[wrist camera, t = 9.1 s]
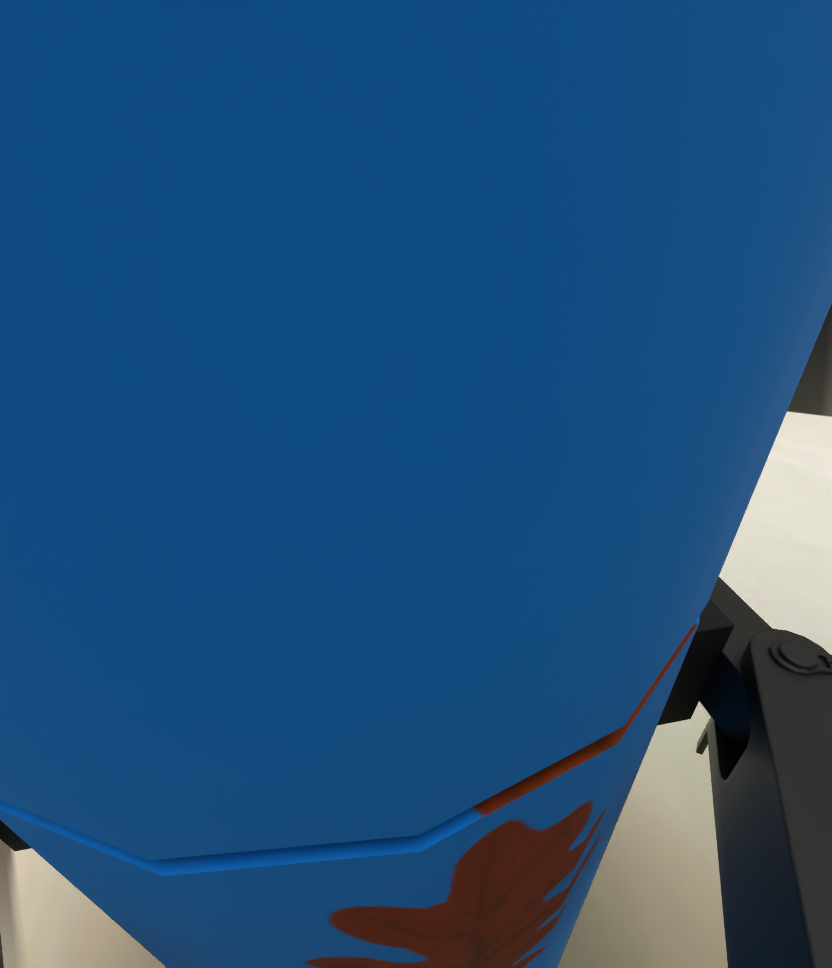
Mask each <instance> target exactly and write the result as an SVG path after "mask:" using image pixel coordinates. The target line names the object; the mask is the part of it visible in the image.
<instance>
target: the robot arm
mask: <svg viewBox="0 0 832 968" xmlns="http://www.w3.org/2000/svg"><path fill="white" fill-rule="evenodd" d="M699 701H700V702H701V704H702V705H703V706H704V708H705V709H706V710H707V712H708V713H709V714H710V716H711V717H710V719H709V721H708V723H707V725H706V727H705V729H704V731H703V733H702V735H701V737H700V739H699V741H698V744H697V749H696V753H699V754H703V752H704V750H705V748H706V747H707V745H708V748H709V759H710V771H711V782H712V793H713V804H714V815H715V827H716V838H717V849H718V860H719V871H720V882H721V894H722V905H723V916H724V927H725V938H726V949H727V961H728V968H832V655H830V654H829V653H828V652H827V651H825V650H824V649H823V648H822V647H821V646H819V645H818V644H816V643H814V642H812V641H811V640H809V639H807V638H806V637H803V636H801V635H798V634H795V633H792V632H789V631H786V630H778V629H772V628H771V627H770V626H769V625H768V624H767V623H766V622H765V621H764V620H763V619H762V618H761V617H760V616H759V615H758V614H757V613H756V612H754V611H753V610H752V609H751V608H750V607H749V606H748V605H747V604H746V603H745V602H744V601H743V600H742V599H741V598H740V597H739V596H738V595H737V594H736V593H735V592H734V591H733V590H732V589H731V588H730V587H729V586H728V585H727V584H726V583H725V582H724V581H723V580H722V579H721V578H720V577H718V579H717V581H716V584H715V586H714V588H713V591H712V593H711V596H710V598H709V600H708V603H707V605H706V606H705V608H704V609H703V611H702V612H701V614H700V622H699V625H698V627H697V630H696V632H695V634H694V637H693V639H692V642H691V644H690V646H689V649H688V651H687V654H686V656H685V659H684V661H683V663H682V666H681V668H680V671H679V673H678V675H677V678H676V680H675V683H674V685H673V688H672V690H671V692H670V695H669V697H668V700H667V702H666V705H665V707H664V709H663V712H662V714H661V717H660V719H659V721H658V724H657V725H661V724H667V723H672V722H677V721H682V720H687V719H691V717H692V715H693V712H694V710H695V708H696V706H697V704H698V702H699ZM0 839H1V840H2V841H3V842H4V843H6V844H7V845H8V846H9V847H10V848H12V849H13V850H14V851H19V850H24V849H29V848H31V847H30V846H29V845H28V844H27V843H26V842H24V841H23V840H22V839H21V838H20V837H19V836H18V835H17V834H15V833H14V832H13V831H12V830H11V829H10V828H9V827H8V826H6V825H5V824H4V823H3V822H2V821H1V820H0ZM0 968H4V966H3V955H2V945H1V935H0Z"/></svg>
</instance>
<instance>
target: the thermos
mask: <svg viewBox="0 0 832 968" xmlns="http://www.w3.org/2000/svg"><path fill="white" fill-rule="evenodd" d="M831 303H832V0H0V820H1V821H2V822H3V823H4V824H5V825H6V826H8V827H9V828H10V829H11V830H12V831H13V832H14V833H15V834H17V835H18V836H19V837H20V838H21V839H22V840H23V841H24V842H26V843H27V844H28V845H29V846H30V847H31V848H32V849H34V850H35V851H36V852H37V853H38V854H39V855H40V856H41V857H43V858H44V859H45V860H46V861H47V862H48V863H49V864H51V865H52V866H53V867H54V868H55V869H56V870H57V871H58V872H60V873H61V874H62V875H63V876H64V877H65V878H66V879H67V880H69V881H70V882H71V883H72V884H73V885H74V886H75V887H77V888H78V889H79V890H80V891H81V892H82V893H83V894H84V895H86V896H87V897H88V898H89V899H90V900H91V901H92V902H94V903H95V904H96V905H97V906H98V907H99V908H100V909H101V910H103V911H104V912H105V913H106V914H107V915H108V916H109V917H110V918H112V919H113V920H114V921H115V922H116V923H117V924H118V925H120V926H121V927H122V928H123V929H124V930H125V931H126V932H127V933H129V934H130V935H131V936H132V937H133V938H134V939H135V940H137V941H138V942H139V943H140V944H141V945H142V946H143V947H144V948H146V949H147V950H148V951H149V952H150V953H151V954H152V955H154V956H155V957H156V958H157V959H158V960H159V961H160V962H161V963H163V964H164V965H165V966H166V967H167V968H557V966H558V963H559V961H560V958H561V956H562V954H563V951H564V949H565V946H566V944H567V942H568V939H569V937H570V934H571V932H572V929H573V927H574V925H575V922H576V920H577V917H578V915H579V913H580V910H581V908H582V905H583V903H584V900H585V898H586V896H587V893H588V891H589V888H590V886H591V883H592V881H593V879H594V876H595V874H596V871H597V869H598V867H599V864H600V862H601V859H602V857H603V854H604V852H605V850H606V847H607V845H608V842H609V840H610V838H611V835H612V833H613V830H614V828H615V825H616V823H617V821H618V818H619V816H620V813H621V811H622V809H623V806H624V804H625V801H626V799H627V796H628V794H629V792H630V789H631V787H632V784H633V782H634V779H635V777H636V775H637V772H638V770H639V767H640V765H641V763H642V760H643V758H644V755H645V753H646V750H647V748H648V746H649V743H650V741H651V738H652V736H653V734H654V731H655V729H656V726H657V724H658V721H659V719H660V717H661V714H662V712H663V709H664V707H665V705H666V702H667V700H668V697H669V695H670V692H671V690H672V688H673V685H674V683H675V680H676V678H677V675H678V673H679V671H680V668H681V666H682V663H683V661H684V659H685V656H686V654H687V651H688V649H689V646H690V644H691V642H692V639H693V637H694V634H695V632H696V630H697V627H698V625H699V622H700V614H701V612H702V611H703V609H704V608H705V606H706V605H707V603H708V600H709V598H710V596H711V593H712V591H713V588H714V586H715V584H716V581H717V579H718V576H719V574H720V571H721V569H722V567H723V564H724V562H725V559H726V557H727V555H728V552H729V550H730V547H731V545H732V542H733V540H734V538H735V535H736V533H737V530H738V528H739V526H740V523H741V521H742V518H743V516H744V513H745V511H746V509H747V506H748V504H749V501H750V499H751V496H752V494H753V492H754V489H755V487H756V484H757V482H758V480H759V477H760V475H761V472H762V470H763V467H764V465H765V463H766V460H767V458H768V455H769V453H770V451H771V448H772V446H773V443H774V441H775V438H776V436H777V434H778V431H779V429H780V426H781V424H782V422H783V419H784V417H785V414H786V412H787V409H788V407H789V405H790V402H791V400H792V397H793V395H794V392H795V390H796V387H797V385H798V383H799V380H800V378H801V376H802V373H803V371H804V368H805V365H806V363H807V361H808V359H809V356H810V354H811V351H812V349H813V346H814V344H815V342H816V339H817V337H818V334H819V332H820V330H821V327H822V325H823V322H824V319H825V318H826V315H827V313H828V310H829V308H830V305H831Z"/></svg>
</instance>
